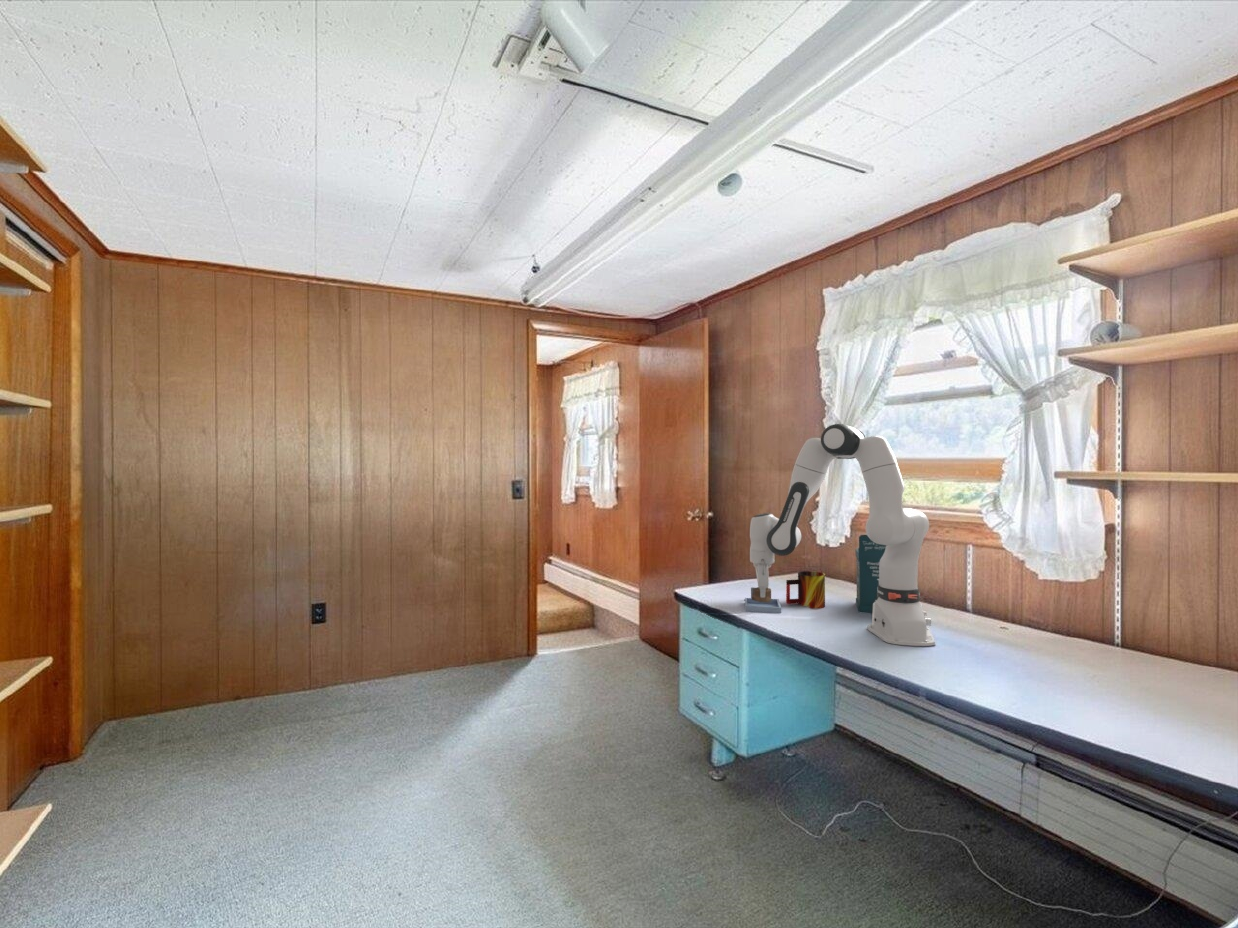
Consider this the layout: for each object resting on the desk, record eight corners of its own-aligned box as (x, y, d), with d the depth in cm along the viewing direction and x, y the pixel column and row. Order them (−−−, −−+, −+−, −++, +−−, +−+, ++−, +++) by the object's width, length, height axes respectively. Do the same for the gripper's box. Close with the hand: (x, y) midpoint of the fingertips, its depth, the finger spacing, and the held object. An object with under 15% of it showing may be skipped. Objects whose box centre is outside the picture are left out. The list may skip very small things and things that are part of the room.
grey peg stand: (763, 604, 220) (763, 590, 220) (744, 603, 221) (744, 589, 221) (762, 599, 227) (762, 586, 227) (744, 599, 228) (743, 585, 228)
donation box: (859, 612, 208) (858, 534, 207) (854, 601, 223) (854, 528, 223) (908, 615, 203) (908, 535, 203) (900, 604, 218) (900, 530, 218)
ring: (771, 602, 210) (771, 591, 210) (751, 601, 211) (751, 590, 211) (770, 598, 216) (770, 587, 216) (751, 597, 217) (751, 586, 217)
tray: (781, 614, 206) (781, 607, 206) (745, 613, 208) (745, 606, 208) (778, 605, 218) (778, 598, 218) (745, 604, 220) (745, 597, 220)
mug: (785, 606, 217) (785, 574, 217) (808, 600, 225) (808, 570, 225) (807, 611, 209) (807, 578, 209) (830, 605, 217) (830, 574, 217)
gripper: (772, 562, 202) (772, 602, 203) (769, 552, 222) (769, 588, 223) (754, 562, 204) (754, 601, 204) (752, 552, 224) (752, 587, 224)
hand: (762, 594), depth 213 cm, fingers closed on ring, 6 cm apart
